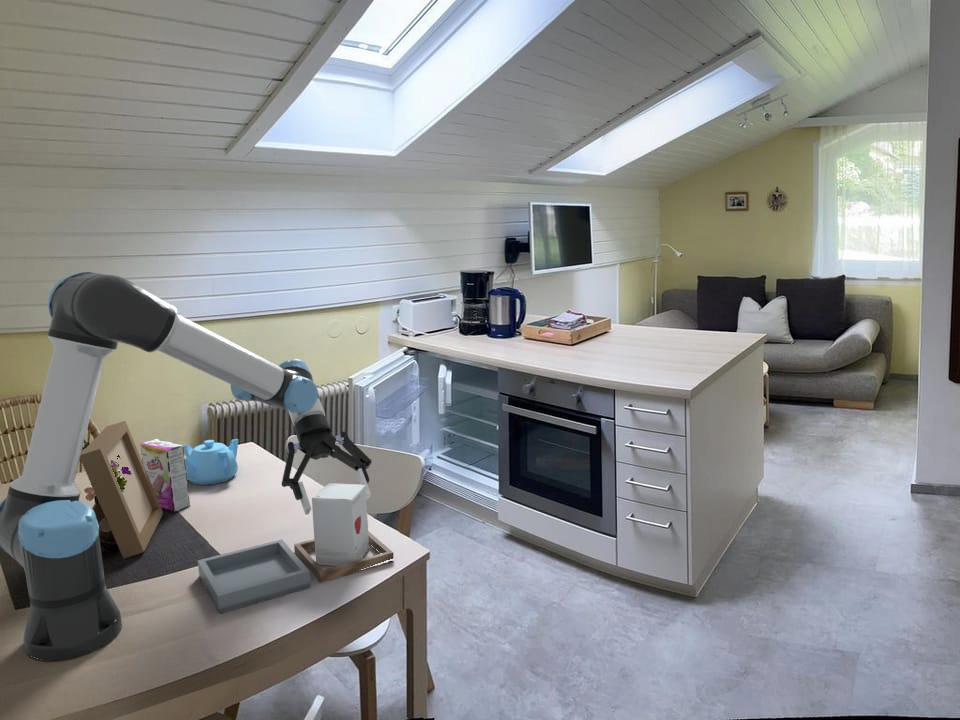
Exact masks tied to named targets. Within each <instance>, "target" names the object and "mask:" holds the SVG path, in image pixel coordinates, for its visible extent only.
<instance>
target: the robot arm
mask: <svg viewBox="0 0 960 720" xmlns="http://www.w3.org/2000/svg"><path fill="white" fill-rule="evenodd" d="M47 308H48V311H49V315H50V318H51V321H50V326H49V330H48V334H47V338H48V341H50V343H51V344H52V346H53V352H52V356H51V361H50V364H49V367H48V371H47V375H46V379H45V383H44V388H43V391H42V396H41V399H40V403H39V408H38V410H37V416H36V419H35V423H34V427H33V431H32V436H31V438H30V443H29V445H28V446H29V447H28V451H27V455H26V458H25V461H24V466H23V470H22V474H21V475H20V476H19V477H17V478H16V479H14V480H13V481H11V482H10V483H9V488H8V491H7V494H6V497H5V498H4V499H2V500H1V501H0V548H1V549H2V550H3V551H4V552H5V553H6V554H8V555H9V556H11V557H12V559H14V560H15V562H17V563H18V565H20V566H21V567H22V568H23V570H24V573H25V578H26V579H25V580H26V586H27V591H28V592H27V593H28V597H29V604H30V606H29V610H28V611H29V612H28V616H27V620H26V624H25V628H24V634H23V643H24V651H25V650H26V651H25V653H26V652H27V653H28V654H29V655H30V656H32V657H35V658H38V659H42V660H41V661H43V660H56V661H63V660H69V659H74V658H78V657H80V656H84V655H87V654H89V653H91V652H93V651H96V650H99V649H100V648H103V646H105V645H107V644H108V643H110V642H111V641H113V640H114V639H115V638H116V637H117V636H118V635H119V633H120V632H121V630H122V628H123V627H122V626H123V624H122V622H123V621H122V615H121V611H120V609H119V607H118V605H117V604H116V602H115V600H114V599H113V597H112V595H111V594H110V592H109V590H108V588H107V586H106V580H105V571H104V563H103V555H102V548H101V541H100V540H101V539H100V533H99V525H98V521H97V519H96V515H95V512H94V510H93V509H92V508H93V507H91V506H90V505H89V504H88V503H85V502H82V501H80V497H81V493H82V492H81V489H80V488H79V487H78V486H77V484H76V481H75V479H76V475H77V471H78V468H79V463H80V461H81V460H80V456H81V453H82V452H83V447H84V443H85V438H86V435H87V432H88V427H89V422H90V419H91V415H92V412H93V406H94V402H95V401H96V400H95V399H96V394H97V390H98V388H99V382H100V379H101V376H102V371H103V368H104V364H105V360H106V358H107V357H108V356H110V355H111V354H113V353H115V352H116V350H117V348H118V343H120V344H125V345H128V346H131V347H134V348H138V349H140V350H143V351H145V352H147V353H155V352H157V351H158V352H160V353H162V354H164V355H166V356H168V357H171V358H173V359H174V360H177V361H180V362H181V363H184V364H186V365H188V366H190V367H193V368H194V369H197V370H198V371H201V372H203V373H205V374H208V375H210V376H212V377H215V378H217V379H219V380H221V381H223V382H224V383H227V384H229V385H230V390H231V393H232V396H233V397H234V398H235V399H236V400H239V401H246V402H251V401H252V402H259V403H262V404H266V405H268V406H269V405H270V406H273V407H276V408H279V409H282V410H286V411H288V414H289V417H290V420H291V423H292V425H293V426H294V427H293V428H294V432H295V435H296V438H297V441H298V443H297V442H296V443H294V442H293V441H288V443H287V446H286V448H285V450H286V452H285V453H286V455H287V457H286V461H285V466H284V471H283V475H282V480H281V487H283V488H286V487H289V489H290V490H292V493H293V495H294V499H295V500H296V501H300V502H301V503H300V504H301V505H302V506H301V507H302V508H303V511H304V515H305V516H307V515H309V514H310V512H311V510H312V507H311V506H312V505H311V504H310V500H309V498H308V494H307V492H306V489H305V486H304V483H303V481H300V479H301V477H302V475H303V473H304V471H305V470H306V468H307V465H308V464H309V462H310V460H311V459H313V460H314V461H315V460H316V461H317V460H319V459H325V458H329V456H330V457H331V458H333V459H337V460H338V461H340V462H341V463H343V464H345V465H346V466H348V467H349V468H351V469H353V470H355V472H356V473H355V477H356V480H357V482H358V483H357V484H358V485H366V501H368V500H369V499H370V497H371V496H372V493H371V490H370V488H369V485H368V484H369V483H370V476H369V473H368V471H367V469H370V466H371V464H372V462H373V461H372V459H371V458H369V456H368V455H366V454H365V453H364V452H363V451H362V449H361V448H360V447H358V446H357V445H356V444H355V443H354V442H353V440H351V439H350V437H349V436H348V433H347V432H346V431H342V432H341V433H340V434H337V435H334V434H333V432H332V430H331V426H330V424H329V422H328V421H329V420H328V418H327V416H326V412H325V409H324V407H323V404H322V402H321V398H320V397H319V390H318V387H317V385H316V384H315V382H314V379H313V375H312V373H311V371H310V369H309V367H308V365H307V363H306V362H305V361H303V360H301V359H299V358H298V359H297V358H293V359H292V360H285V361H283V362H281V363H280V364H279V365H278V364H276V363H273V362H272V361H270V360H268V359H265V358H264V357H262V356H260V355H257V354H256V353H254V352H252V351H249V350H248V349H246V348H244V347H242V346H241V345H239V344H237V343H234V342H232V340H231V341H230V340H229V339H227V338H225V337H223V336H222V335H220V334H217V333H214V332H213V331H211V330H209V329H207V328H205V327H203V326H201V325H199V324H197V323H195V322H193V321H191V320H190V319H187V318H185V317H183V316H182V315H179V314H178V311H177V310H178V309H177V308H176V306H174V305H172V304H171V303H168V302H167V301H165V300H163V299H161V298H160V297H158V296H156V295H155V294H153V293H152V292H149V291H148V290H147V289H145V288H143V287H141V286H140V285H138V284H136V283H135V282H133V281H131V280H129V279H127V278H125V277H122V276H118V275H115V274H103V273H99V272H94V271H93V272H92V271H81V272H78V273H73V274H69V275H67V276H65V277H64V278H62V279H60V280H59V281H58V282H57V283H56V284H55V285H54V286H53V287H52V289H51V290H50V293H49V295H48V301H47ZM336 443H337V444H336ZM339 445H340V446H342V448H343V449H344V450H343V449H341V447H340V446H339ZM298 450H299V451H300V452H302V453H303V454H304V456H303V458H302V460H301V462H300V464H299V466H298V467H297V470H296V472H295V474H294V476H293V478H291V471H292V466H293V463H294V458H295V455H296V454H297V452H298ZM346 451H347V452H346ZM27 653H26V654H27ZM30 656H29V657H30Z"/></svg>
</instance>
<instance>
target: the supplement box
mask: <svg viewBox="0 0 960 720" xmlns="http://www.w3.org/2000/svg"><path fill="white" fill-rule="evenodd" d="M311 506H312V507H311V510H312V523H313V526H312V527H313V539H314V541H315V550H314V553H315V554H314V555H315V562H316V563H317V564H318V565H319V566H331V567H335V566H339V565H342V564H346V563H349V562H353V561H357V560H360V559H363V558H364V557H365V555H366V554H367V553H368V551H369V550H370V545H369V538H368V531H369V524H368V523H369V522H368V508H367V500H366V485H359V483H357V484H355V483H351V484H350V483H337V482H336V483H333V482H328V483H326V484H325V486H323V487H322V488H321V489H319V491H318V492H317V493H316V494H315V495H313V496H312V497H311ZM368 549H369V550H368ZM366 552H367V553H366ZM365 553H366V554H365ZM363 556H364V557H363ZM362 557H363V558H362Z"/></svg>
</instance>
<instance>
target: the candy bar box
mask: <svg viewBox="0 0 960 720" xmlns="http://www.w3.org/2000/svg"><path fill="white" fill-rule="evenodd" d="M139 444H140V452H141V460H142V462H143V465H144V467H145V470H146V472H147V474H148V477H149V479H150V482H151V484H152V487H153V489H154V491H155V494H156V496H157V499H158V501H159V504H160V506H161V508H162V509H163V508H164V510H166V509H168V510H167V511H169V510H171V511H170V512H173V511H174V512H173V513H176V512H175V511H177V512H179V511H181V509H182V510H183V509H186V508H189V507H190V506H191V504H190V503H191V502H190V494H189V487H188V479H187V475H186V466H185V458H186V456H185V453H184V449H183V445H184V444H178V443H175V442H170V441H167V440H164V439H163V440H162V439H159V438H155V439H151V440H148V441H144V442H141V443H139ZM178 510H179V511H178Z"/></svg>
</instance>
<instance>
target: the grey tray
mask: <svg viewBox="0 0 960 720" xmlns="http://www.w3.org/2000/svg"><path fill="white" fill-rule="evenodd" d="M197 565H198V576H199V577H198V578H200V580H201V583H202V584H203V587H205V589H206V592H207V593H208V595H209V596H210V598H211V601H212V602H213V604H214V606H215V608H216V609H217V612H218V613H219V614H223V613H228V612H230V611H233V610H237V609H241V608H244V607H247V606H250V605H251V606H252V605H254V604H258V603H261V602H265V601H268V600H271V599H272V600H273V599H275V598H278V597H283V596H286V595H289V594H292V593H296V592H300V591H302V590H305V589H309V588H311V576H310V575H311V573H310V572H311V571H310V570H309V569H308V567H307V566H306V565H305V564H304V563H303V562H302V561H301V559H300V558H299V557H298V556H297V555H296V554H295V551H293V550H292V549H291V548H290V546H289V545H288V544H287V543H286V542H285V540H283V539H277V540H274V541H273V540H272V541H270V542H265V543H261V544H257V545H254V546H251V547H250V546H249V547H246V548H242V549H238V550H235V551H234V550H233V551H229V552H225V553H222V554H218V555H214V556H211V557H207V558H202V559H198V560H197Z"/></svg>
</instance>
